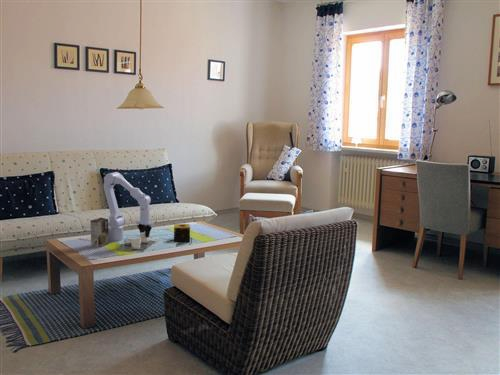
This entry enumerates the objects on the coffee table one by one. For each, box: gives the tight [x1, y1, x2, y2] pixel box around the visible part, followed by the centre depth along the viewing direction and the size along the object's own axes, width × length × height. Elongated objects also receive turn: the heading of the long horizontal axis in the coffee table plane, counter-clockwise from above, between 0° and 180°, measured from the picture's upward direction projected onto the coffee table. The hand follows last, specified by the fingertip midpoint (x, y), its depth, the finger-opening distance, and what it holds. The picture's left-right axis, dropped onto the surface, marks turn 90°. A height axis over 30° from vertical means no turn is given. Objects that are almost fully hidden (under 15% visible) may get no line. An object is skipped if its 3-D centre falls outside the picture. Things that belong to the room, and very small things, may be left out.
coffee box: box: [90, 217, 110, 248], centre depth 311 cm, size 9×6×16 cm
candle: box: [173, 223, 191, 243], centre depth 327 cm, size 10×10×10 cm
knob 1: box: [130, 237, 141, 249], centre depth 301 cm, size 6×5×6 cm
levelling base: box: [116, 238, 157, 253], centre depth 309 cm, size 16×24×4 cm
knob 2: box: [139, 232, 151, 243], centre depth 315 cm, size 6×5×6 cm
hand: (144, 236), depth 315 cm, fingers closed on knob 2, 3 cm apart
